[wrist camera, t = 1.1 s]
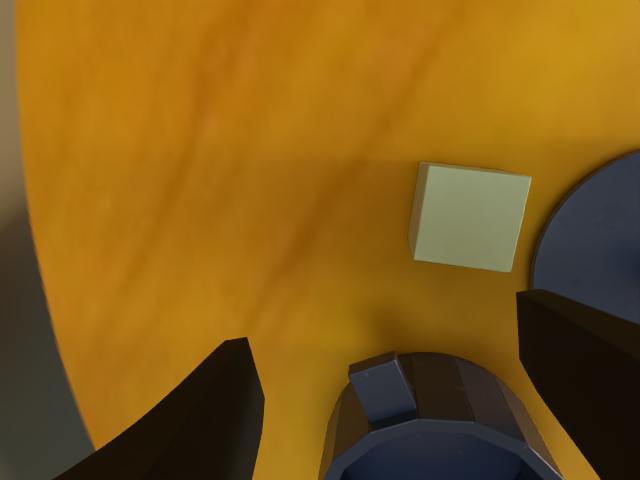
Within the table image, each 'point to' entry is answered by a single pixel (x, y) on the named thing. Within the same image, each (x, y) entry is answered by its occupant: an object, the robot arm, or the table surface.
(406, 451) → the pot
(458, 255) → the block
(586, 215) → the lid
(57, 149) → the table surface
